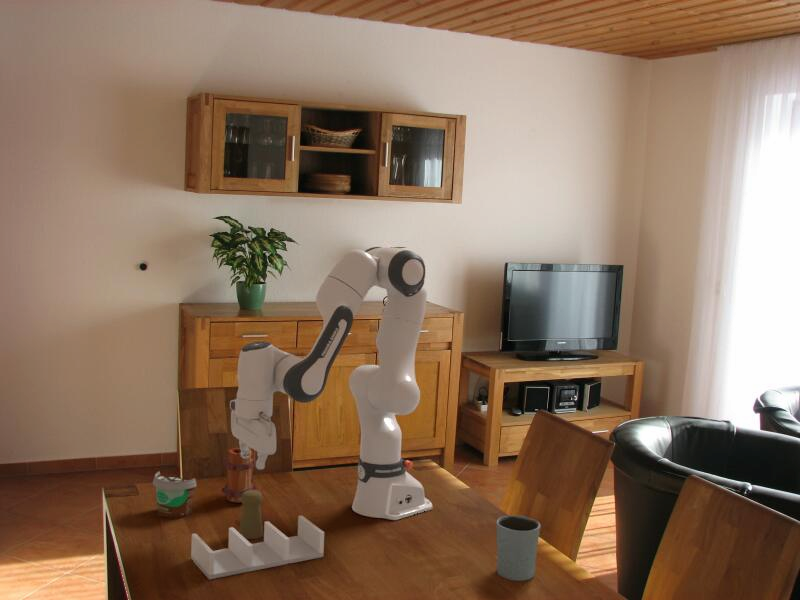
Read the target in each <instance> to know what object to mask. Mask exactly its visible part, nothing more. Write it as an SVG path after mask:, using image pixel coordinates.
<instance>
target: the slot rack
mask: <svg viewBox="0 0 800 600" xmlns="http://www.w3.org/2000/svg"><path fill="white" fill-rule="evenodd" d="M297 520H298V521H297V535H294V536H289V537H288V536H287V535H286V534H285V533H283V532H282V531H281V530H280V529H278V528H277V527H276V526H275V525H274V524H272V523H271V522H270V521H268V520H267V521H264V524H263V525H264V526H263V528H264V529H263V541H261V542H255V543H251V542H250V541H249V540H248V539H245V538H244V537H243V536H242V535H241V534H240V533H239V530H237V529H236V528H234V526H233V527H229V528H228V548H221V549H218V550H217V549H216V550H213V549H211V547H210V546H209V545H208V544H207V543H206V542H205V541H204V540H203V539H202V538H201V537H200V536H199V535H198V534H197V532H196V533H192V534H191V543H190V544H191V547H190V549H191V550H190V551H191V553H190V560H191V559H192V560H193V563H194V564H195V565H196V566H197V567H198V569H199V570H200V571H201V572H202V573H203V574H204V576H206V578H207V579H208V580H213V579H217V578H218V579H219V578H223V577H228V576H229V577H230V576H232V575H233V576H234V575H237V574H242V573H243V574H244V573H249V572H253V571H258V570H263V569H270V568H273V567H279V566H285V565H288V564H289V563H290V564H294V563H298V562H303V561H311V560H314V559H319V558H320V559H321V558H323V557H324V554H325V553H324V551H325V550H324V549H325V531H323V530H322V529H320V528H319V527H318V526H317V525H315V524H314V523H312V522H311V521H310V520H309V519H307V518H306V517H305V516H303V515H298V518H297ZM192 560H191V561H192ZM290 564H289V565H290Z"/></svg>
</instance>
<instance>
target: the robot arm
mask: <svg viewBox="0 0 800 600" xmlns="http://www.w3.org/2000/svg"><path fill="white" fill-rule="evenodd" d="M425 278H426V264H425V262H424V260H423V258H422V257H421V255H419V254H417V253H416V252H414V251H412V250H407V249H402V248H398V247H382V246H373V247H370V248H367V249H366V250H362V249H352V250H350V251H348V252H347V253H346V254H345V255H344V256H343V257H342V258H341V259H340V260H339V261H338V262H337V263H336V264H335V265H334V267H333V268H332V269H331V270H330V272H329V273H328V275H327V276H326V277H325V279H324V280H323V282H322V284H321V285H320V287H319V288H318V291H317V294H316V296H315V303H316V307H317V310H318V312H319V314H320V315H321V316H322V319H323V325H322V329H321V331H320V333H319V335H318V337H317V339H316V341H315V342H314V343H313V346H312V347H311V349H310V351H309V353H308V354H307V355H306V356H305V357H303V358H302V357H300V356H298V355H295V354H293V353H289V352H286V351H284V350H282V349H280V348H277V346H276V347H275V345H273V344H272V343H271V342H269V341H254V342H253V341H252V342H249V343H247V344H245V345H244V346H242V348H241V350H240V352H239V356H238V364H237V373H236V374H237V376H236V377H237V378H236V379H237V383H238V389H237V393H236V398H235V399H232V400H230V401H229V408H230V410H231V412H230V430H231V433H232V436H233V437H235V438H236V439H237V440H238V444H239V448H240V449H241V457H242V458H244V459H246V458H249V457H250V455H249V454H250V451H249V449H248V446H249V447H251V448H252V449H254V450H255V452H257V453H256V455H257V459H256V460H255V468H256V469H257V470H264V469H265V467H266V461H267V458H268V456H271V455H274V454H275V453H276V451H277V429H276V425H275V423H274V422H273V421H272V420H271V419H272V418H271V417H272V416H273V410H274V409H273V408H274V404H273V403H274V393H276V392H281V393H283V394H284V395H287V396H289V397H290V398H291V399H292V400H295V401H296V402H298V403H301V404H305V403H311V402H312V401H315V400H316V399H318V398H319V397H320V396H321V394H322V393H323V392H324V391H325V388H326V385H327V381H328V377H329V374H330V370H331V368H332V366H333V364H334V362H335V360H336V358H337V357H338V354H339V353H340V351H341V349H342V347H343V345H344V343H345V341H346V340H347V337H348V336H349V333H350V332H351V329H352V326H353V324H354V317H355V316H356V313H357V311H358V309H359V307H360V306H361V304H362V303H363V301H364V299H365V298H366V296H367V294H368V293H369V291H370V290H371V289H372V288H373V287H378V288H381V289H385V290H386V293H387V299H386V304H385V305H384V309H383V312H382V315H381V316H382V317H381V320H380V324H379V328H378V331H377V335H376V338H375V345H376V349H377V350H378V357H379V358H378V359H379V360H378V361H379V362H378V365H377V364H363V365H359V366H357V367H355V369H354V370H353V371H352V372H351V374H350V376H349V380H348V387H349V391H350V392H351V394H352V396H353V399H354V402H355V405H356V410H357V415H358V419H359V420H358V421H359V426H360V449H359V450H360V451H359V457H358V458H357V459H358V460H357V461H358V462H357V463H358V464H357V487H356V492H355V494H354V495H355V496H354V499H353V502H352V506H351V508H352V511H354V512H355V513H356V514H359V515H361V516H363V517H364V516H365V517H369V518H377V519H380V518H381V519H385V520H391V521H397V520H398V521H399V520H400V519H404V518H407V517H411V516H414V514H415V515H418V514H421V513H424V511H425V512H428V511H431V510H433V503H432V502H431V500H429V499H428V498H427V497H425V489H424V487H423V484H422V483H421V482H420V481H419V480H417V478H415V477H413V475H412V474H410V473H409V472H407V470H411V469H413V467H414V466H413V465H414V463H413V462H412V461H410V460H409V459H406V460H405V459H404V458H402V457H401V455H402V429H401V427H400V425H399V423H398V421H397V418H396V416H407V415H409V414H411V413H413V412H414V411H415V410H416V408H417V407H418V406H419V403H420V400H421V391H420V390H421V389H420V388H419V386H418V383H417V380H416V371H415V370H416V369H415V363H416V362H415V361H416V351H417V347H418V343H419V339H420V335H421V330H422V327H423V323H424V319H425V315H426V309H427V308H426V307H427V299H428V298H427V297H428V294H427V293H428V292H427V289H426V288H425V286H424V284H425ZM406 468H407V470H406ZM417 513H418V514H417Z"/></svg>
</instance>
